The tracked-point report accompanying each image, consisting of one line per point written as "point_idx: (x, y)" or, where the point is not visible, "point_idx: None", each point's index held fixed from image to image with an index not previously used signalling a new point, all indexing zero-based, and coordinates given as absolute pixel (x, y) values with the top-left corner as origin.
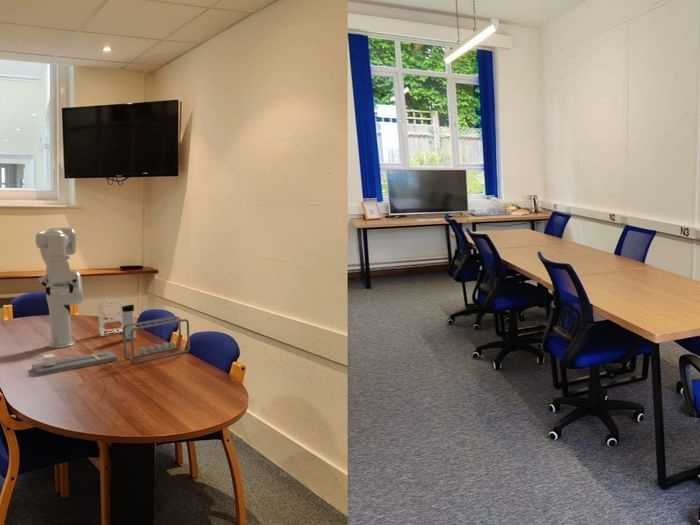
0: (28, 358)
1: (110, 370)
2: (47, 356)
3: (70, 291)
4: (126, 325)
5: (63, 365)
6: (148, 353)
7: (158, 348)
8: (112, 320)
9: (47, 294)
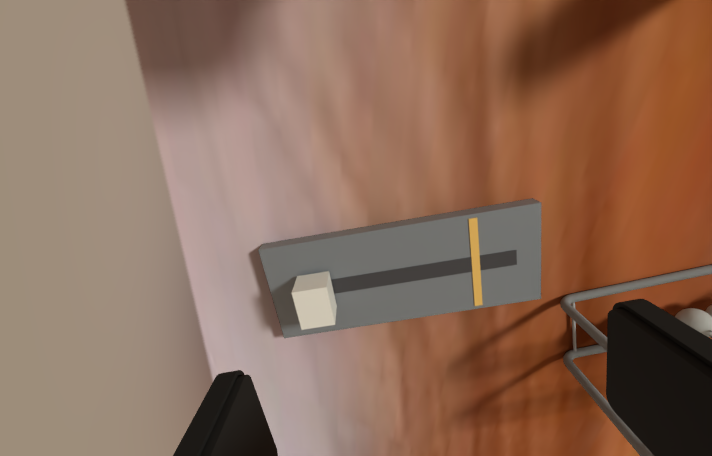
0: (229, 69)
1: (484, 378)
2: (309, 315)
3: (626, 406)
4: None
5: (361, 312)
6: (649, 286)
7: None
8: None
9: (222, 384)
